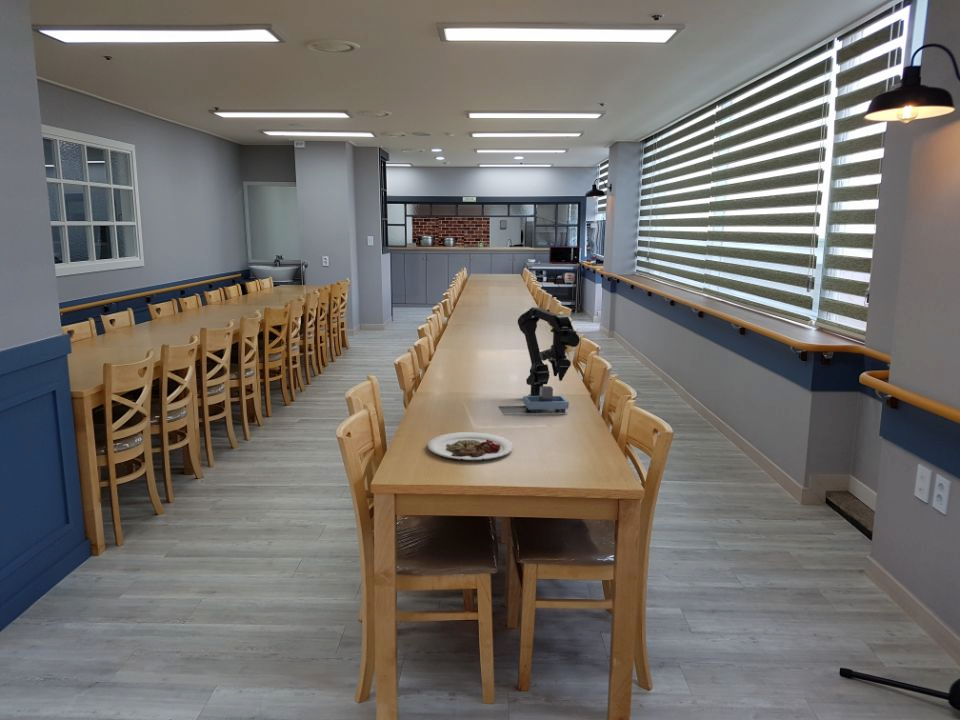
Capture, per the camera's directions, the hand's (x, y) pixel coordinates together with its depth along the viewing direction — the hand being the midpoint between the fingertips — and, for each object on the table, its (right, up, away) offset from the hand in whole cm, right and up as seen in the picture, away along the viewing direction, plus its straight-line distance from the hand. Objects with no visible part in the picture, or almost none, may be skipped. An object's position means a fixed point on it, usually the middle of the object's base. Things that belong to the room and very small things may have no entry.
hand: (557, 378), depth 304 cm
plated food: (-38, -24, -61) cm, 76 cm away
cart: (-7, -13, -11) cm, 18 cm away
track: (-12, -14, -11) cm, 22 cm away
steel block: (-6, -10, -11) cm, 16 cm away
